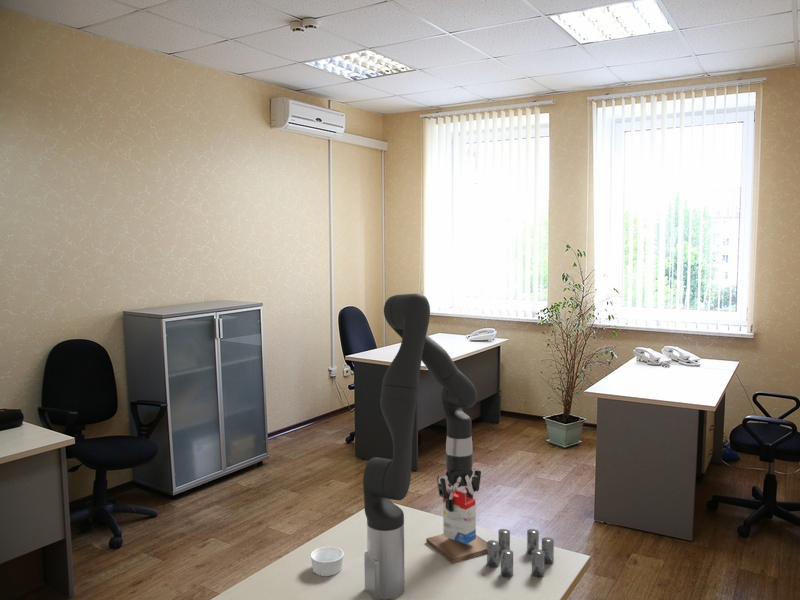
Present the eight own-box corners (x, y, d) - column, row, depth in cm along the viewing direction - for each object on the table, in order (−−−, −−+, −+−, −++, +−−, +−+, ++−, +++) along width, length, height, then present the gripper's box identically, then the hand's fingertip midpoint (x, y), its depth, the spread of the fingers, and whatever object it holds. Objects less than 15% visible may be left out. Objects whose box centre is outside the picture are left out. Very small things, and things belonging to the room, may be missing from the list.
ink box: (476, 539, 173) (476, 489, 172) (466, 545, 169) (466, 494, 169) (452, 530, 179) (452, 481, 178) (442, 535, 175) (442, 486, 174)
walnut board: (452, 563, 165) (452, 558, 165) (426, 542, 177) (426, 538, 177) (494, 550, 172) (494, 546, 171) (465, 531, 184) (465, 527, 184)
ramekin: (326, 558, 168) (326, 543, 168) (350, 567, 163) (350, 551, 163) (303, 571, 161) (303, 555, 161) (328, 581, 156) (328, 565, 156)
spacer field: (516, 586, 153) (516, 563, 153) (475, 557, 168) (475, 536, 168) (566, 568, 161) (566, 547, 161) (524, 542, 176) (524, 522, 176)
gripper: (472, 443, 179) (472, 499, 180) (430, 451, 172) (431, 509, 173) (487, 450, 173) (487, 508, 174) (445, 459, 166) (445, 518, 167)
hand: (459, 508), depth 174 cm, fingers closed on ink box, 6 cm apart
